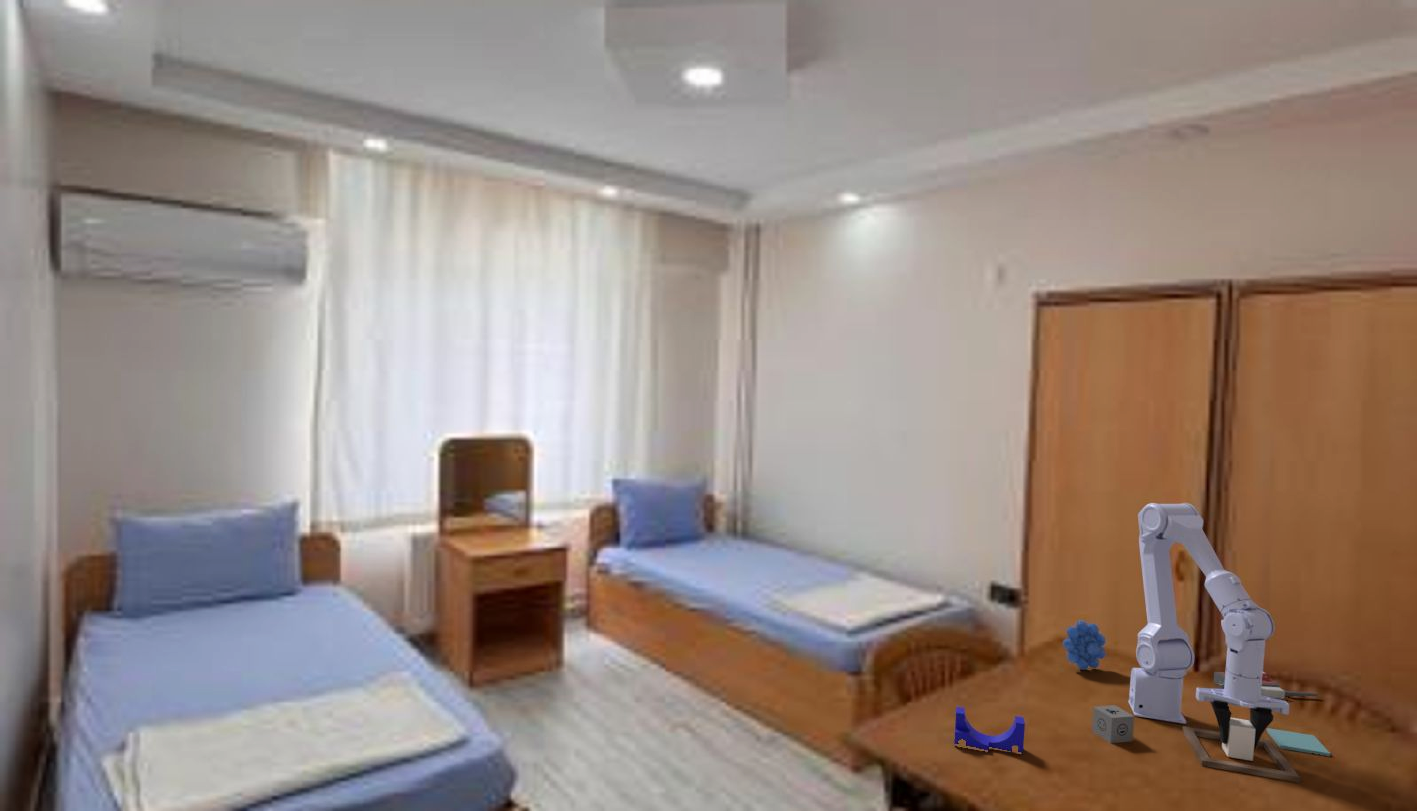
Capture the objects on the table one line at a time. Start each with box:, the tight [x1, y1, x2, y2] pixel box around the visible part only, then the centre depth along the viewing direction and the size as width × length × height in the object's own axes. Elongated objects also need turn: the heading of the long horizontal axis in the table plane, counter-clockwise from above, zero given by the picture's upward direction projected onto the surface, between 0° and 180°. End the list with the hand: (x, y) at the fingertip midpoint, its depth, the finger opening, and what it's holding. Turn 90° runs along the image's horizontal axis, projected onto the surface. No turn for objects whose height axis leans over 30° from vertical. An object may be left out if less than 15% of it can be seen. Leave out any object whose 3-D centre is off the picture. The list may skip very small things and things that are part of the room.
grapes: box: [1062, 619, 1107, 671], centre depth 191 cm, size 12×7×12 cm, turn 104°
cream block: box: [1221, 717, 1256, 762], centre depth 151 cm, size 4×4×6 cm
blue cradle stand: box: [953, 706, 1026, 754], centre depth 150 cm, size 12×4×6 cm, turn 72°
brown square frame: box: [1182, 726, 1301, 784], centre depth 151 cm, size 15×15×1 cm
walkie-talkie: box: [1213, 671, 1319, 700], centre depth 184 cm, size 9×4×20 cm
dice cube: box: [1091, 704, 1135, 744], centre depth 157 cm, size 5×5×5 cm
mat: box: [1266, 727, 1331, 757], centre depth 157 cm, size 8×8×1 cm
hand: (1237, 743), depth 151 cm, fingers closed on cream block, 4 cm apart
